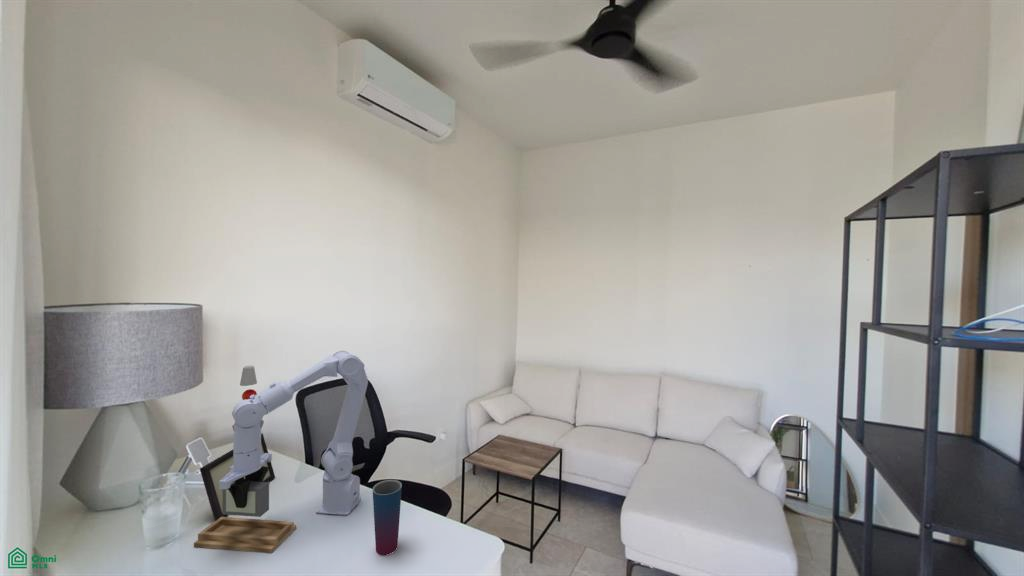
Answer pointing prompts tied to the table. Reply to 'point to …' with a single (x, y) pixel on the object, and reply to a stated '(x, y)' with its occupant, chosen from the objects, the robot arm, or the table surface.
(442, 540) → the table surface
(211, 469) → the picture frame
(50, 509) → the table surface
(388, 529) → the cup
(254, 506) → the grey rectangular prism
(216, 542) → the wooden tray
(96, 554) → the table surface
